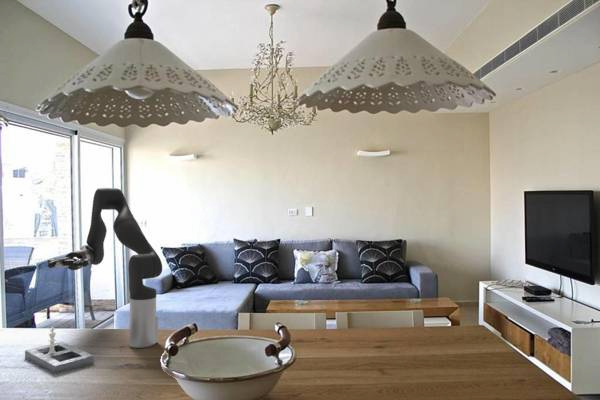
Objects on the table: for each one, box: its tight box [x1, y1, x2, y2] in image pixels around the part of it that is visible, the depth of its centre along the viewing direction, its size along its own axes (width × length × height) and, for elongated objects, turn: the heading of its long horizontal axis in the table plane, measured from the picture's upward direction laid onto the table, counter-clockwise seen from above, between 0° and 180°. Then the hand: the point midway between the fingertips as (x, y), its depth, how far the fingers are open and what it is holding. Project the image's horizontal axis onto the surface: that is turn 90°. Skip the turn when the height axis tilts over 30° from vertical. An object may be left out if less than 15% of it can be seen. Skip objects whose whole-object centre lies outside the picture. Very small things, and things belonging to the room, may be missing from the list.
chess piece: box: [45, 326, 57, 355], centre depth 148 cm, size 5×5×10 cm
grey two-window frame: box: [24, 341, 95, 375], centre depth 145 cm, size 12×22×2 cm, turn 52°
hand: (61, 265), depth 167 cm, fingers open, 8 cm apart
